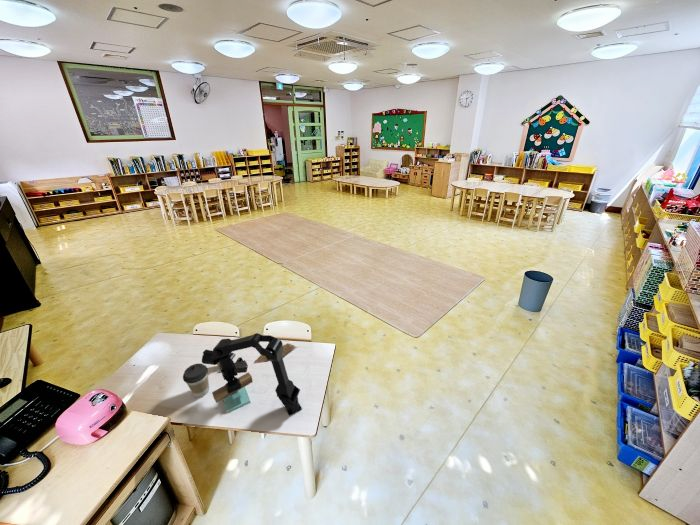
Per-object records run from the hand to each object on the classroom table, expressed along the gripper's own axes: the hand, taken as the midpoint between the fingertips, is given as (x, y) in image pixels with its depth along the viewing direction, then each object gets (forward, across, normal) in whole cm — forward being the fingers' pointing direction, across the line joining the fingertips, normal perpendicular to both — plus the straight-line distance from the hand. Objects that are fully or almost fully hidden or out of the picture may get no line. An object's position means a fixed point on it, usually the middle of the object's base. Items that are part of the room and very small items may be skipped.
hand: (233, 388), depth 143 cm
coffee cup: (+8, +15, +14) cm, 22 cm away
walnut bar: (+1, 0, 0) cm, 1 cm away
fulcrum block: (+8, 0, 0) cm, 8 cm away
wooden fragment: (+9, +20, -27) cm, 35 cm away
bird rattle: (+8, +27, +1) cm, 28 cm away
